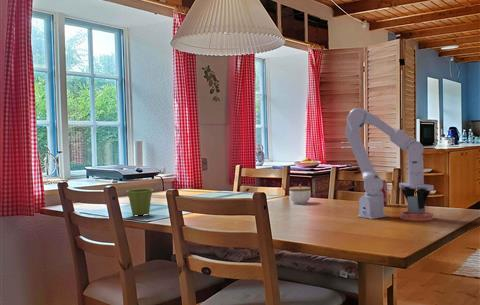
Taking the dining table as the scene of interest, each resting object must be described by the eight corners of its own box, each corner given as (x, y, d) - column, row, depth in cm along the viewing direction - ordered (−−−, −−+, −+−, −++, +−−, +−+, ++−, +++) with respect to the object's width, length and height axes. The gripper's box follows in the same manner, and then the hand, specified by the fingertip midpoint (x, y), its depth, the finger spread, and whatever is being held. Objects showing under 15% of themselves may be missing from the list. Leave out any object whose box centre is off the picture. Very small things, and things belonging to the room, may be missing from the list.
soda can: (384, 206, 212) (383, 180, 211) (369, 205, 216) (368, 180, 216) (389, 204, 217) (389, 179, 217) (374, 203, 222) (374, 178, 221)
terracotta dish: (418, 222, 172) (418, 216, 172) (393, 218, 183) (393, 212, 183) (440, 218, 178) (439, 213, 178) (414, 214, 189) (414, 209, 189)
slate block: (417, 213, 177) (416, 197, 177) (407, 211, 181) (407, 196, 181) (425, 212, 180) (424, 196, 179) (415, 210, 184) (415, 195, 183)
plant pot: (136, 212, 215) (135, 188, 215) (158, 213, 211) (158, 188, 211) (121, 217, 204) (120, 191, 204) (145, 217, 200) (144, 191, 200)
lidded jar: (286, 202, 235) (286, 184, 235) (307, 201, 237) (306, 183, 237) (293, 205, 225) (292, 186, 225) (314, 204, 227) (313, 184, 226)
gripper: (438, 173, 176) (439, 208, 176) (407, 171, 188) (408, 204, 189) (426, 174, 172) (426, 210, 173) (395, 172, 185) (395, 206, 185)
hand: (416, 207), depth 180 cm, fingers closed on slate block, 4 cm apart
